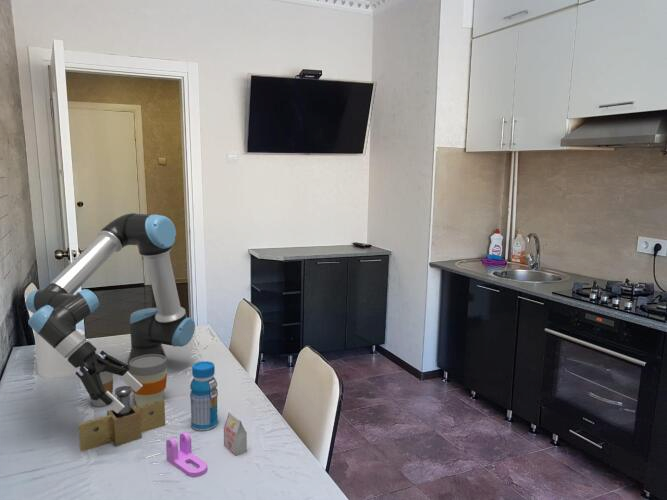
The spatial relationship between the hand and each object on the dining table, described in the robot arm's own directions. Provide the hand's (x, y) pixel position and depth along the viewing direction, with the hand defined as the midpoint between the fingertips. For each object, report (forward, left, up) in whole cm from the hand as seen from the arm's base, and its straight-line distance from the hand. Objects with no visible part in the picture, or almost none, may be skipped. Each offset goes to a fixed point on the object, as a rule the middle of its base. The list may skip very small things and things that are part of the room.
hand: (130, 399), depth 147 cm
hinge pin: (+1, -2, -12) cm, 12 cm away
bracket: (-7, +24, -13) cm, 28 cm away
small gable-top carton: (-21, +24, -12) cm, 35 cm away
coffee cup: (+1, -29, -12) cm, 31 cm away
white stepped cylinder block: (+5, -69, -12) cm, 70 cm away
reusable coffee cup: (-12, -20, -12) cm, 26 cm away
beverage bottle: (-20, +6, -12) cm, 25 cm away
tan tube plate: (+2, -2, -12) cm, 12 cm away
